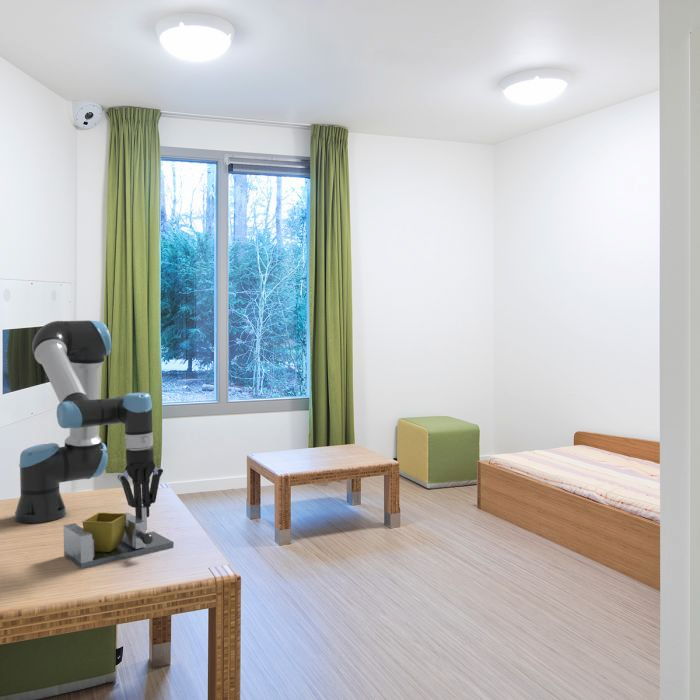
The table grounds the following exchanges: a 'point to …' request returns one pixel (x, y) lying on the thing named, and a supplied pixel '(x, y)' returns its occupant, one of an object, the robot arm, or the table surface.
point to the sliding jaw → (136, 532)
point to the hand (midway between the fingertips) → (143, 529)
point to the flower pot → (106, 530)
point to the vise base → (84, 556)
